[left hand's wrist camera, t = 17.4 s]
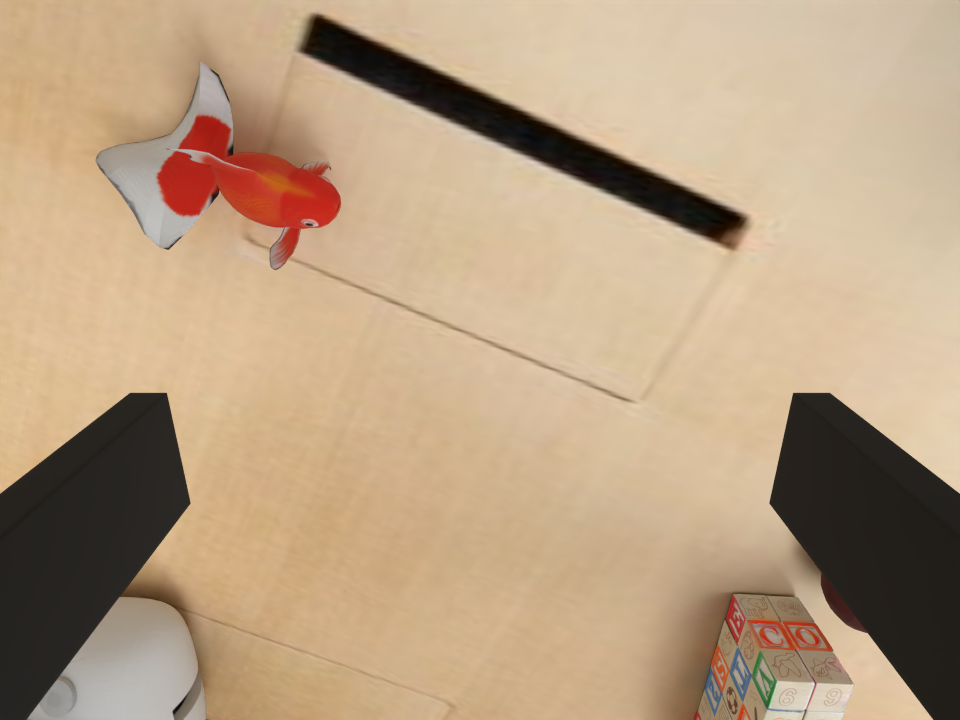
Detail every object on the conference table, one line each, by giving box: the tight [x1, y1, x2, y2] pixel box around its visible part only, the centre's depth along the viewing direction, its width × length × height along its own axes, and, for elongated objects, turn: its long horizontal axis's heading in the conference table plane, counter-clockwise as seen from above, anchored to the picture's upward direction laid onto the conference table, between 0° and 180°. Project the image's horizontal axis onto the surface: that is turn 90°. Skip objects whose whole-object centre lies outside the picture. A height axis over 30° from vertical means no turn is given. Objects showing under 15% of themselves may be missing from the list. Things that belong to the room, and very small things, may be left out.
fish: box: [96, 61, 341, 270], centre depth 37 cm, size 11×16×10 cm
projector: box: [27, 597, 206, 720], centre depth 49 cm, size 22×23×15 cm
